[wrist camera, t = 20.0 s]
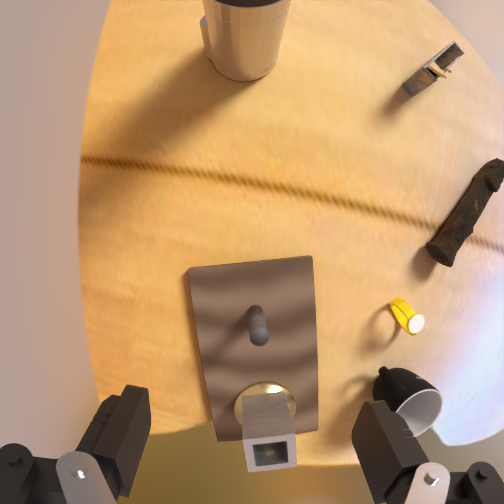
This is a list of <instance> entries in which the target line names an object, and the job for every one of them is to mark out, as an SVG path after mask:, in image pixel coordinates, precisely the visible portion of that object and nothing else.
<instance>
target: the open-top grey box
mask: <svg viewBox="0 0 504 504" xmlns="http://www.w3.org/2000/svg"><path fill="white" fill-rule="evenodd" d="M242 440H243V446H244V451H245V457H246V462H247V466H248V472H256V471H265V470H274V469H282V468H290V467H296V466H297V458H296V438H295V430H294V427H293V423H292V419H291V415H290V411H289V407H288V404H287V400H286V396H285V392H284V391H280V392H272V393H264V394H255V395H245V396H242Z"/></svg>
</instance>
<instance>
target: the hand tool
mask: <svg viewBox="0 0 504 504" xmlns="http://www.w3.org/2000/svg"><path fill="white" fill-rule="evenodd" d="M503 178H504V161H503V160H500V159H498V158H496V159H494V160H491V161H489V162H488V163H486V164H485V165H484V166H483V167H482V168H481V169H480V171H479V172H478V173H477V174H476V175H475V176H474V177H473V179H472V181H473V184H472V186H471V187H470V189H469V190H468V191H467V193H466V194H465V196H464V197H463V198H462V200H461V201H460V203H459V205H458V206H457V208H456V209H455V211H454V212H453V213H452V215H451V216H450V217H449V219H448V220H447V221H446V223H445V225H444V227H443V228H442V229H441V231H440V232H439V234H438V235H437V237H436V238H435V239H434V240H433V241H432V242H430V243H426V246H425V247H426V249H427V250H428V251H429V253H430V255H431V256H432V257H433V258H434V259H435V260H436V261H438V262H439V263H441V264H442V265H445V266H447V267H452V265H453V262H454V260H455V256H456V253H457V252H458V250H459V249H460V247H461V246H462V244H463V242H464V241H465V239H466V238H467V237H468V236H469V235H471V233H473V227H474V225H475V224H476V222H477V220H478V218H479V216H480V215H481V213H482V211H483V210H484V208H485V206H486V204H487V202H488V200H489V199H490V197H491V196H492V194H493V192H497V191H498V189H499V188H500V185H501V183H502V182H503Z"/></svg>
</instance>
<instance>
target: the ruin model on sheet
mask: <svg viewBox="0 0 504 504" xmlns="http://www.w3.org/2000/svg"><path fill="white" fill-rule="evenodd" d="M464 53H465V52H464V51H463V50H462V49H461V48H460V47H459V45H458V44H457V43H456V42H455V41H453V42H452V43H451V44H449V45H448V46H447V47H445V48H444V49H443V50H442V51H440V52H439V53H438V54H436V55H435V56H434V57H433V58H432V59H430V60H429V61H428V62H427V63H426V64H425V65H423V66H422V67H421V68H420V69H419V70H418V71H417V72H415V73H414V74H413V75H412V76H411V77H410V78H409V79H407V80H406V81H405V82H404V83H403V84H402V85H403V87H404V88H405V89H406V90H407V91H408V92H409V93H410V95H411V96H412V97H413V96H415V95H416V94H417V93H419V92H420V91H422V90H423V89H425V88H426V87H428V86H429V85H431V84H432V83H434V82H435V81H437V78H438V77H445V76H446V75H447V74H448V73H449V72H450V73H452V71H450V70H449V69H448V68H449V67H450V66H451V65H452V64H454V63H455V62H456V61H457V60H458V59H459V58H460V56H461V55H463V54H464ZM426 67H427V68H429V69H430V70H432V71H433V72H434V74H433V75H432V74H431V72H430V71H429V70H428V69H427V68H426ZM445 78H447V77H445Z"/></svg>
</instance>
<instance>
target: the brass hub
mask: <svg viewBox="0 0 504 504" xmlns="http://www.w3.org/2000/svg"><path fill="white" fill-rule="evenodd" d="M280 391H284V392H285V396H286V400H287V404H288V407H289V411H290V415H291V419H292V418H293V417H294V415H295V412H296V402H295V399H294V396H293V394H292V393H291V391H290V390H289V389H288V388H287V387H285V386H283V385H282V384H279V383H276V382H270V381H264V382H257V383H254V384H251V385H249V386H247V387H246V388H244V389H243V390H242V391H241V392H240V393H239V394H238V396H237V397H236V400H235V403H234V414H235V417H236V419H237V421H238V422H239V423H240V424H241V425H242V396H245V395H255V394H264V393H272V392H280Z"/></svg>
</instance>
